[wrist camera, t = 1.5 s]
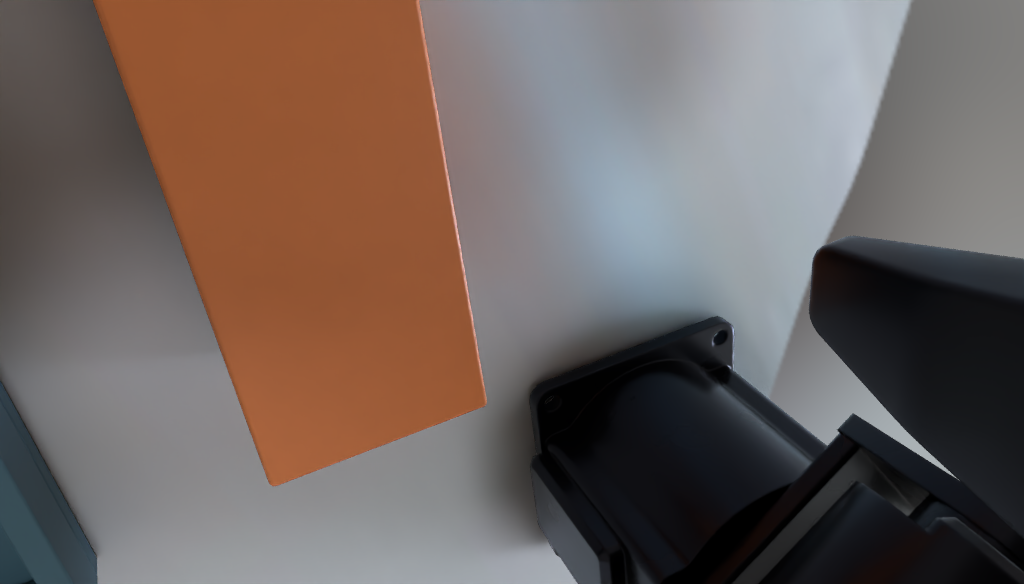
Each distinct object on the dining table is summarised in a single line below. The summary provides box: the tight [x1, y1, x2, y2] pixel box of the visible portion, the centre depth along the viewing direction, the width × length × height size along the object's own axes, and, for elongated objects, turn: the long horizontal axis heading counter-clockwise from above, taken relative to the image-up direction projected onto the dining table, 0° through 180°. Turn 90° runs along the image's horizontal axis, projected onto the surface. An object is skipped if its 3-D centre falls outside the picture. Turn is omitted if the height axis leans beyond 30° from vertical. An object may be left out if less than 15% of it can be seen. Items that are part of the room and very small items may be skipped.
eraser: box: [93, 0, 487, 486], centre depth 15 cm, size 4×10×5 cm, turn 8°
